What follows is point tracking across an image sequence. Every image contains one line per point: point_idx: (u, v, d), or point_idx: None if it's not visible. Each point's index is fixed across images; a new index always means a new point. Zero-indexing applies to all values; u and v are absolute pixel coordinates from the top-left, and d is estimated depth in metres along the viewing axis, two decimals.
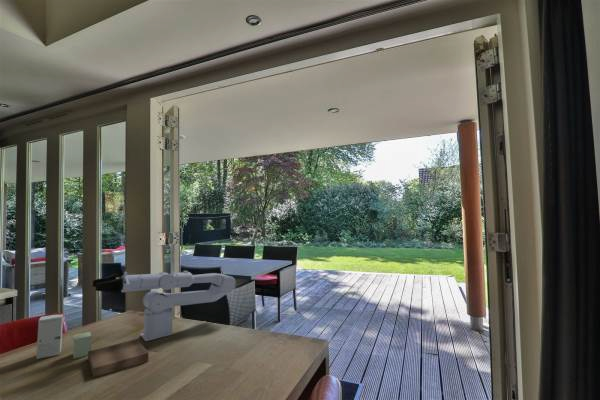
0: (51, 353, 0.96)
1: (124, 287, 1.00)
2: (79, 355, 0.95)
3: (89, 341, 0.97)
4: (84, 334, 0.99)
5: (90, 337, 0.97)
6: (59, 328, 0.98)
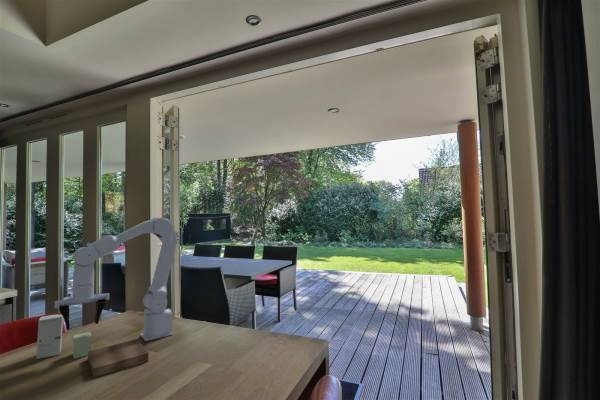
0: (51, 353, 0.96)
1: None
2: (79, 355, 0.95)
3: (89, 341, 0.97)
4: (84, 334, 0.99)
5: (90, 337, 0.97)
6: (59, 328, 0.98)
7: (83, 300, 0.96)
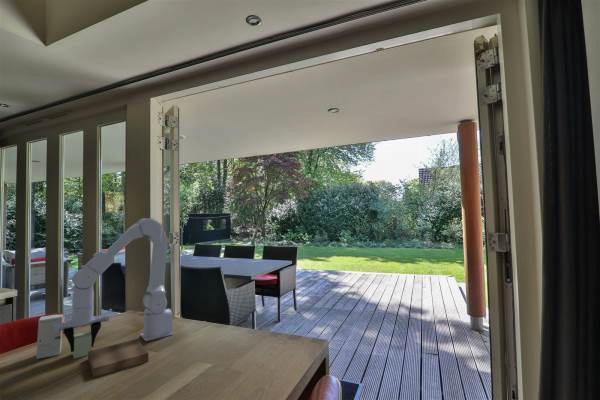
0: (51, 353, 0.96)
1: (54, 330, 0.93)
2: (79, 355, 0.95)
3: (89, 341, 0.97)
4: (84, 333, 0.99)
5: (90, 337, 0.97)
6: None
7: (83, 323, 0.95)
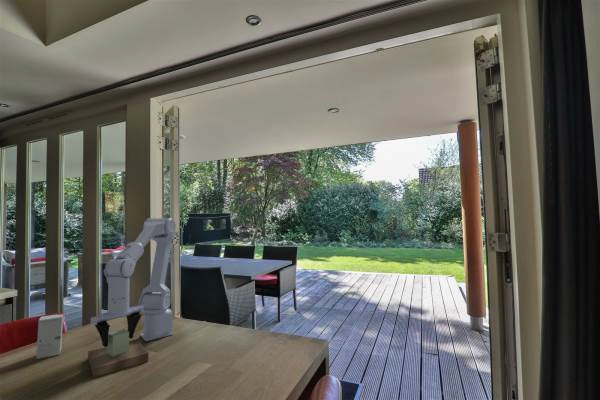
0: (51, 353, 0.96)
1: (92, 323, 0.88)
2: (118, 352, 0.91)
3: (127, 337, 0.93)
4: (118, 331, 0.94)
5: (128, 333, 0.93)
6: (59, 328, 0.98)
7: (122, 314, 0.92)
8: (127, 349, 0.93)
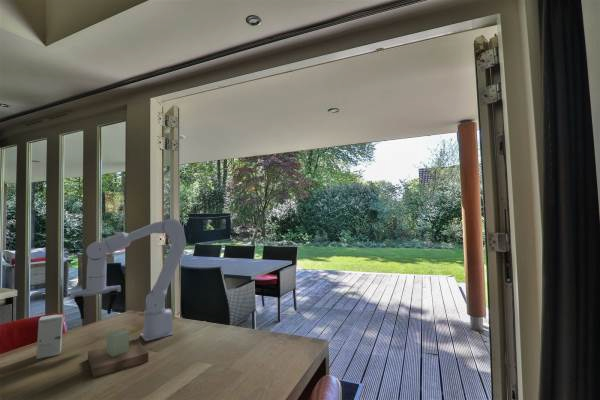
0: (51, 353, 0.96)
1: (70, 297, 0.99)
2: (118, 352, 0.91)
3: (127, 337, 0.93)
4: (118, 331, 0.94)
5: (128, 333, 0.93)
6: (59, 328, 0.98)
7: (96, 291, 1.02)
8: (127, 349, 0.93)
